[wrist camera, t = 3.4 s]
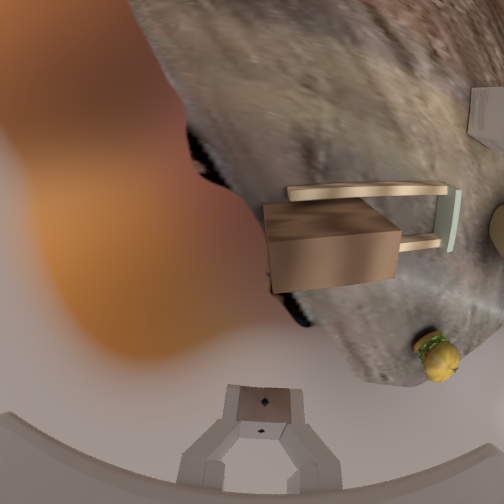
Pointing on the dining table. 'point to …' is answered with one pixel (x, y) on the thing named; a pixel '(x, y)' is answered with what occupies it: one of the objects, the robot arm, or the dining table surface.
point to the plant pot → (498, 229)
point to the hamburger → (437, 356)
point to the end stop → (447, 217)
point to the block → (328, 244)
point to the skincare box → (487, 117)
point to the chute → (376, 190)
